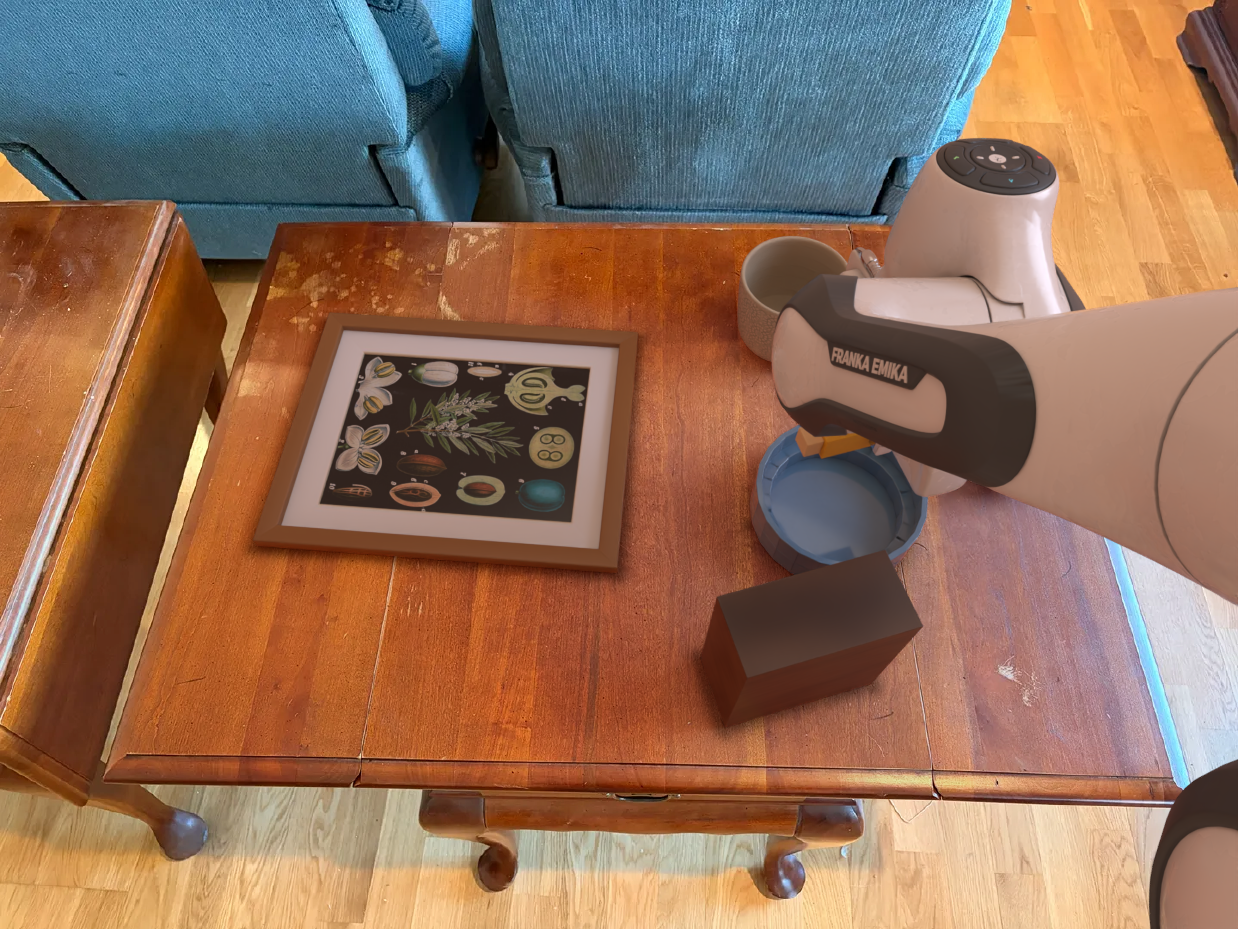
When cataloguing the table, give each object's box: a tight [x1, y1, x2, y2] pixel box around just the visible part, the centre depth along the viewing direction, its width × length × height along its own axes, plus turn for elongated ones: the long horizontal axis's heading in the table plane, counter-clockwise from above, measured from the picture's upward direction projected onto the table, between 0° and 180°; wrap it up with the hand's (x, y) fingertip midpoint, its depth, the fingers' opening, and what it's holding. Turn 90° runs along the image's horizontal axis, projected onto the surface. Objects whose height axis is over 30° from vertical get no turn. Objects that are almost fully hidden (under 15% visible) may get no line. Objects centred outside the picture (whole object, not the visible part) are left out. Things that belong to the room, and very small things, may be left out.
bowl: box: [749, 424, 929, 575], centre depth 87 cm, size 17×17×6 cm
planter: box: [736, 235, 848, 363], centre depth 98 cm, size 12×12×11 cm
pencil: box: [795, 427, 870, 459], centre depth 75 cm, size 14×3×3 cm, turn 106°
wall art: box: [252, 312, 639, 574], centre depth 94 cm, size 31×2×38 cm
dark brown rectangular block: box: [700, 550, 924, 729], centre depth 74 cm, size 7×15×16 cm, turn 106°
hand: (869, 429), depth 76 cm, fingers closed on pencil, 3 cm apart
